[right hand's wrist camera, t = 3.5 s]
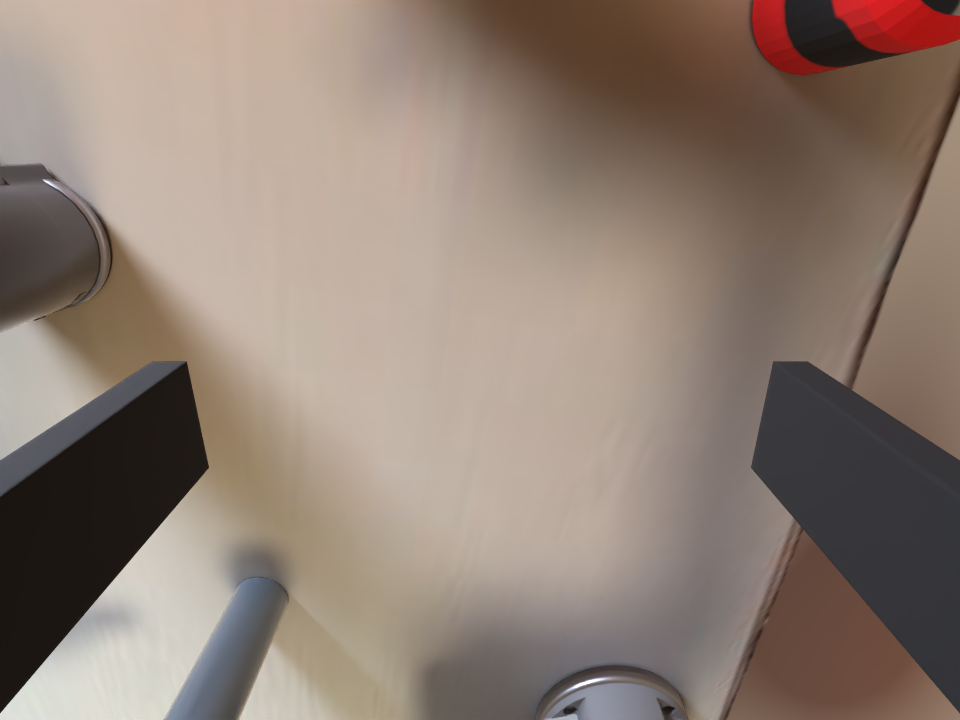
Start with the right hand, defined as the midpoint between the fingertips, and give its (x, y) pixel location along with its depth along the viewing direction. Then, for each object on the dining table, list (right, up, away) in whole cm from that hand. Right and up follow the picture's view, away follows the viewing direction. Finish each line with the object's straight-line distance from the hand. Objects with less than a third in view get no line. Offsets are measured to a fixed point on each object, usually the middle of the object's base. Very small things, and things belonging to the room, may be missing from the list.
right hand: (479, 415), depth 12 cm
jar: (-20, -21, +38) cm, 48 cm away
